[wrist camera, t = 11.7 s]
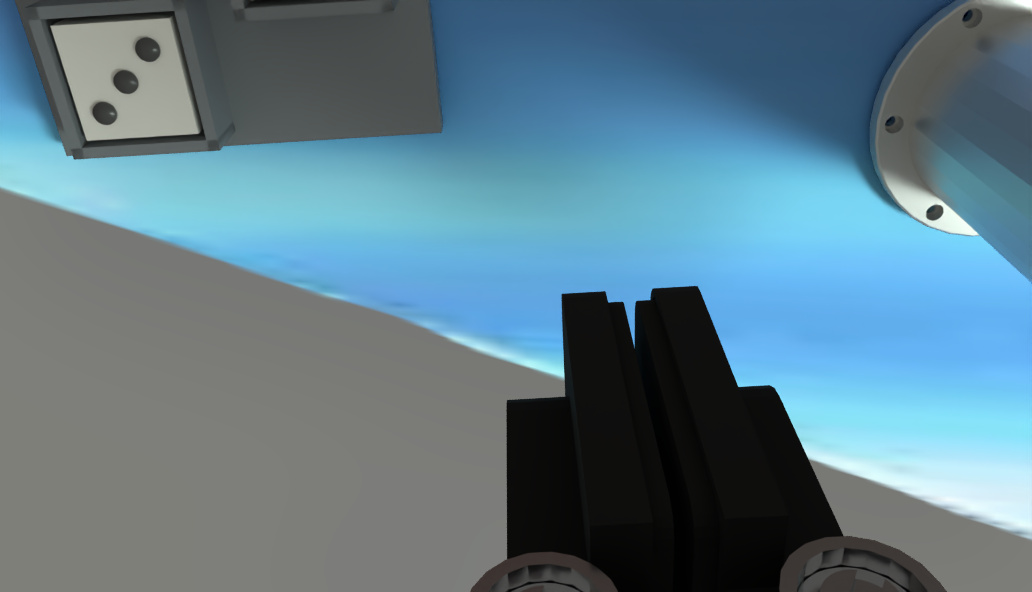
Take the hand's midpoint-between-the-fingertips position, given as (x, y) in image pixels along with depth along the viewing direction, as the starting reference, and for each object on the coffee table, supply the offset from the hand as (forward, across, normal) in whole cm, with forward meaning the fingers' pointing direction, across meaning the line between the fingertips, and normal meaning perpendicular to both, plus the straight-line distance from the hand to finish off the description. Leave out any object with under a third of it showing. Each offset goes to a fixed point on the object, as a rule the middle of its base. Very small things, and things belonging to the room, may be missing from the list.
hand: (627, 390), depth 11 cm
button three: (+30, +18, +3) cm, 35 cm away
